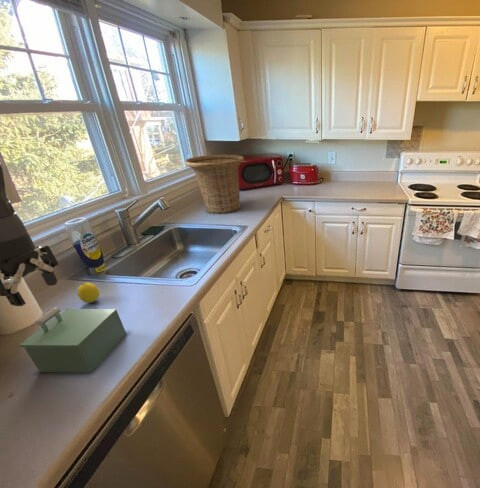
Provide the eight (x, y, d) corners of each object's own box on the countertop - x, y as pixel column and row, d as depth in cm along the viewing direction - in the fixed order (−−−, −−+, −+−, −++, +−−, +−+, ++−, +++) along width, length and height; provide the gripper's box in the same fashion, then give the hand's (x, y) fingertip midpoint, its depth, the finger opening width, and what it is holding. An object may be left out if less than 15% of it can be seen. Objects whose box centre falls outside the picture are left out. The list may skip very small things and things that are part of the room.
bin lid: (20, 347, 68) (10, 332, 66) (67, 311, 80) (60, 297, 78) (78, 347, 68) (70, 332, 66) (117, 311, 80) (111, 297, 78)
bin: (40, 372, 72) (24, 347, 68) (82, 334, 84) (70, 311, 80) (92, 373, 72) (78, 348, 68) (126, 334, 84) (117, 311, 80)
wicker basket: (231, 220, 170) (222, 164, 155) (183, 215, 179) (170, 162, 164) (259, 203, 200) (253, 155, 185) (217, 199, 209) (208, 153, 194)
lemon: (79, 305, 97) (70, 285, 93) (96, 296, 101) (87, 277, 98) (89, 308, 95) (80, 289, 91) (106, 299, 100) (98, 280, 96)
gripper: (19, 223, 69) (48, 278, 76) (-52, 249, 56) (-9, 313, 63) (48, 223, 69) (75, 278, 76) (-16, 249, 56) (23, 313, 63)
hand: (37, 294), depth 70 cm, fingers open, 8 cm apart
